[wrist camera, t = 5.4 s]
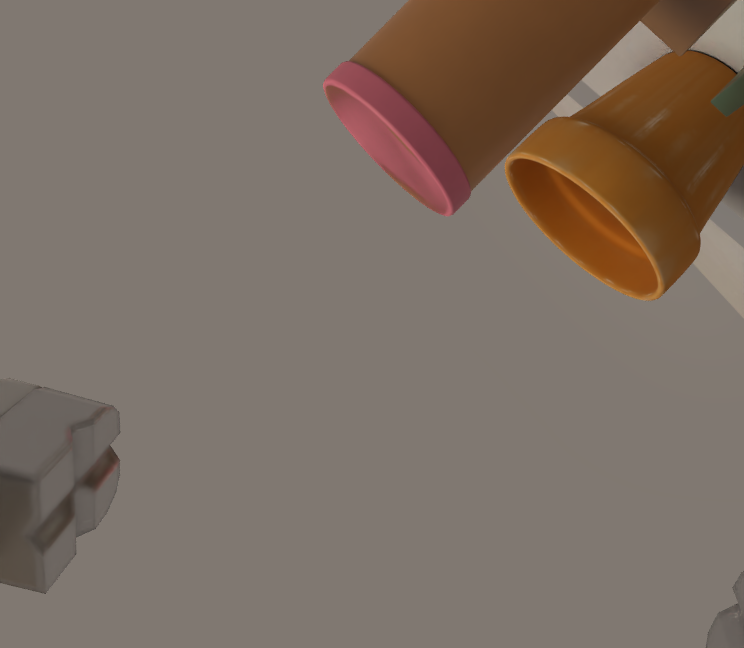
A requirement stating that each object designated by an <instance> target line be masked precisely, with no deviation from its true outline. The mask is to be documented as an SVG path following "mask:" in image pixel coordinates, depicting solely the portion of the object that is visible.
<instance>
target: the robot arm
mask: <svg viewBox="0 0 744 648" xmlns="http://www.w3.org/2000/svg"><path fill="white" fill-rule="evenodd" d="M119 434H120V418H119V411H117V409H116V408H115V407H114V406H112V405H108V404H105V403H101V402H97V401H93V400H90V399H86V398H83V397H79V396H76V395H72V394H68V393H64V392H61V391H57V390H54V389H50V388H46V387H43V388H42V387H40V386H37V385H34V384H30V383H26V382H22V381H18V380H14V379H11V378H8V379H1V380H0V583H3V584H7V585H11V586H16V587H20V588H24V589H28V590H32V591H36V592H40V593H44V594H46V593H47V591H48V590H49V588H50V587H51V586H52V585H53V583H54V582H55V581H56V579H57V578H58V577H59V576H60V574H61V573H62V572H63V571H64V569H65V568H66V567H67V565H68V564H69V563H70V561H71V560H72V559H73V558H74V556H75V555H76V537H78V536H81V535H83V534H85V533H87V532H90V531H92V530H94V529H96V527H97V526H98V525H99V523H100V522H101V520H102V519H103V518H104V516H105V515H106V513H107V512H108V509H109V507H110V505H111V503H112V500H113V498H114V496H115V493H116V490H117V486H118V481H119V476H120V460H119V458H118V456H117V455H116V454H115V452H114V450H113V449H112V447H111V446H110V444H111V443H112V442H113V441H114V440H115V438H116V437H117V436H118V435H119ZM733 590H734V593H735V596H736V599H737V602H738V604H736V605H734V606H732V607H729V608H727V609H725V610H723V611H721V612H719V613H718V614H717V616H716V618H715V620H714V622H713V624H712V626H711V628H710V630H709V632H708V638H707V644H706V648H744V571H743V572H742V573H741V574H740V576H739V578H738V580H737V581H736V583H735V585H734V586H733Z"/></svg>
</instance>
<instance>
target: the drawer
mask: <svg viewBox="0 0 744 648" xmlns="http://www.w3.org/2000/svg"><path fill="white" fill-rule="evenodd" d="M711 103H712V104H713V105H714V106H715V107H716V108H717V109H718V110H719V111H720V112H721V113H723V114H724V115H725V116H726V117H727V116H729V115H730V114H732V113H733V112H734V111H736V110H737V109H739V108H740V107H741V106H743V105H744V68H743V69H742V70H741V71H740V72H739V73H738V74H737V75H736V76H735V77H734V78H733V79H732V80H731V81H730V82H729V83H728V84H727V85H726V86H725V87H724V88H723V89H722V90H721V91H720V92H719V93H718V94H717V95H716V96H715V97H714V98H713V99H712V100H711Z"/></svg>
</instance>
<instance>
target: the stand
mask: <svg viewBox="0 0 744 648" xmlns="http://www.w3.org/2000/svg"><path fill="white" fill-rule="evenodd" d="M736 1H737V0H660V1H659V2H658V3H657V4H656V5H655V6H654V7H653V8H652V9H651V10H650V11H649V12H648V13H647V14H646V15H645V16H644V17H643V18H642V19H641V20H640V21H641V22H642V23H643V24H645V25H646V26H647V27H648V28H649V29H650V30H651V31H652V32H653V33H654V34H655V35H657V36H658V37H659V38H660V39H661V40H662V41H663V42H664V43H665V44H666V45H667V46H669V47H670V48H671V49H672V50H673V51H674V52H675V53H676V54H677V55H678V56H682V55H683V54H684V53H685V52H686V51H687V50H688V49H689V48H690V47H691V46H692V45H693V44H694V43H695V42H696V41H697V40H698V39H699V38H700V37H701V36H702V35H703V34H704V33H705V32H706V31H707V30H708V29H709V28H710V27H711V26H712V25H713V24H714V23H715V22H716V21H717V20H718V19H719V18H720V17H721V16H722V15H723V14H724V13H725V12H726V11H727V10H728V9H729V8H730V7H731V6H732V5H733V4H734V3H735V2H736Z"/></svg>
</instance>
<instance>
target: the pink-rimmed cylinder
mask: <svg viewBox="0 0 744 648" xmlns="http://www.w3.org/2000/svg"><path fill="white" fill-rule="evenodd" d="M659 1H660V0H409V1H408V2H407V3H406V4H405V5H404V6H403V7H402V8H401V9H400V10H399V11H398V12H397V13H396V14H395V15H394V16H393V17H392V18H391V19H390V20H389V21H388V22H387V23H386V24H385V25H384V26H383V27H382V28H381V29H380V30H379V31H378V32H377V33H376V34H375V35H374V36H373V37H372V38H371V39H370V40H369V41H368V42H367V43H366V44H365V45H364V46H363V47H362V48H361V49H360V50H359V51H358V52H357V53H356V54H355V55H354V56H353V57H352V58H351V59H350V60H349V61H346V62H343V63H341V64H340V65H339V66H338V67H337V68H336V69H335V70H334V71H333V72H332V73H331V74H330V75H329V76H328V77H327V78H326V80H325V81H324V83H323V88H324V91H325V94H326V96H327V99H328V100H329V103H330V105H331V106H332V108H333V110H334V111H335V113H336V114H337V116H338V117H339V119H340V120H341V121H342V123H343V124H344V125H345V127H346V128H347V129H348V131H349V132H350V133H351V134H352V136H353V137H354V138H355V139H356V141H357V142H358V143H359V144H360V145H361V146H362V147H363V149H364V150H365V151H366V152H367V153H368V154H369V155H370V156H371V158H372V159H374V161H375V162H376V163H377V164H378V165H379V166H380V167H381V168H382V169H383V170H384V171H385V172H386V173H387V174H388V175H389V176H390V177H391V178H392V179H394V181H396V182H397V183H398V184H399V185H400V186H401V187H402V188H403V189H404V190H406V191H407V192H408V193H409V194H411V195H412V196H413V197H414V198H415V199H417V200H418V201H419V202H421V203H422V204H424V205H425V206H427V207H428V208H430V209H432V210H433V211H435V212H437V213H439V214H441V215H444V216H450V215H453V214H454V213H455V212H456V211H457V210H458V209H459V208H460V207H461V206H462V205H463V204H464V203H465V202H466V201H467V200H468V199H469V197H470V194H471V191H472V190H473V189H474V188H475V187H476V185H478V183H480V182H481V181H482V180H483V178H485V177H486V175H487V174H488V173H490V172H491V170H492V169H493V168H494V167H495V166H496V165H497V164H498V163H499V162H500V161H501V160H502V159H503V158H504V157H505V156H506V155H507V154H508V153H509V152H510V151H511V150H512V149H513V148H514V147H515V146H516V145H517V144H518V143H519V142H520V141H521V140H522V139H523V138H524V137H525V136H526V135H527V134H528V133H529V132H530V131H531V130H532V129H533V128H534V127H535V126H536V125H537V124H538V123H539V122H540V121H541V120H542V119H543V118H544V117H545V116H546V115H547V114H548V113H549V112H550V111H551V110H552V109H553V108H554V107H555V106H556V105H557V104H558V103H559V102H560V101H561V100H562V99H563V98H564V97H565V96H566V95H567V94H568V92H570V91H571V90H572V88H574V87H575V85H576V84H577V83H578V82H579V81H580V80H581V79H582V78H583V77H584V76H585V75H586V74H587V73H588V72H589V71H590V70H591V69H592V68H593V67H594V66H595V65H596V64H597V63H598V62H599V61H600V60H601V59H602V58H603V57H604V56H605V55H606V54H607V53H608V52H609V51H610V50H611V49H612V48H613V47H614V46H615V45H616V44H617V43H618V42H619V41H620V40H621V39H622V38H623V37H624V36H625V35H626V34H627V33H628V32H629V31H630V30H631V29H632V28H633V27H634V26H635V25H636V24H637V23H638V22H639V21H640V20H641V19H642V18H643V17H644V16H645V15H646V14H647V13H648V12H649V11H650V10H651V9H652V8H653V7H654V6H655V5H656V4H657V3H658V2H659Z"/></svg>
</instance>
